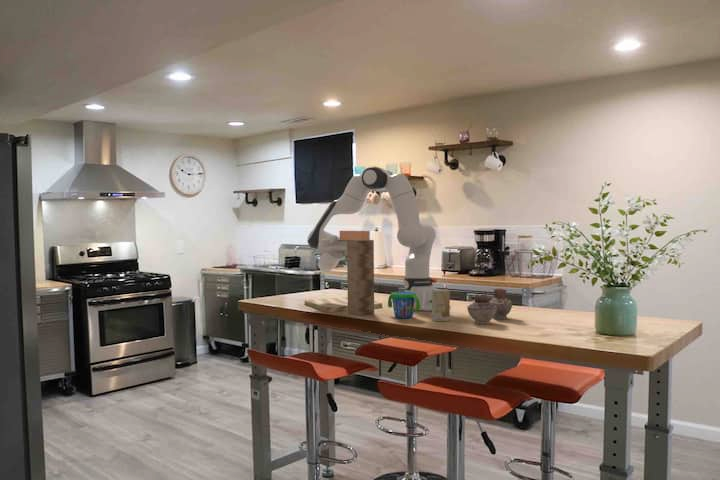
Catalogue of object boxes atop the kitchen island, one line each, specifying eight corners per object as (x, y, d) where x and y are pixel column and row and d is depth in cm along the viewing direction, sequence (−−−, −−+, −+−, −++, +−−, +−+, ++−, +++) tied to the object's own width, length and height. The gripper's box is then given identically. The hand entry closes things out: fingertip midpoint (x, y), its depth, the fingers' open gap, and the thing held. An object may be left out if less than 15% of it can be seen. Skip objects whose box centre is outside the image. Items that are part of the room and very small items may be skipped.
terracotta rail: (347, 239, 254) (347, 230, 254) (369, 240, 234) (369, 230, 234) (339, 239, 252) (339, 230, 252) (361, 240, 233) (361, 231, 232)
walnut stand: (363, 310, 250) (363, 239, 249) (374, 314, 241) (373, 240, 240) (347, 312, 246) (347, 239, 245) (357, 315, 237) (356, 240, 236)
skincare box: (435, 321, 220) (435, 291, 220) (431, 320, 225) (431, 289, 224) (450, 320, 222) (450, 290, 222) (445, 319, 226) (445, 289, 226)
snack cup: (381, 316, 235) (381, 292, 234) (399, 313, 241) (399, 290, 241) (407, 321, 223) (407, 295, 222) (426, 318, 229) (425, 293, 229)
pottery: (518, 318, 227) (518, 289, 227) (488, 327, 209) (488, 295, 208) (493, 315, 235) (492, 287, 235) (461, 323, 216) (461, 293, 216)
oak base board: (356, 300, 284) (356, 296, 284) (382, 307, 259) (382, 303, 259) (304, 304, 272) (304, 300, 272) (326, 312, 247) (326, 307, 247)
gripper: (313, 246, 259) (322, 231, 248) (352, 245, 268) (363, 230, 257) (315, 258, 257) (325, 243, 246) (355, 256, 266) (367, 242, 255)
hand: (345, 237), depth 252 cm, fingers open, 8 cm apart
